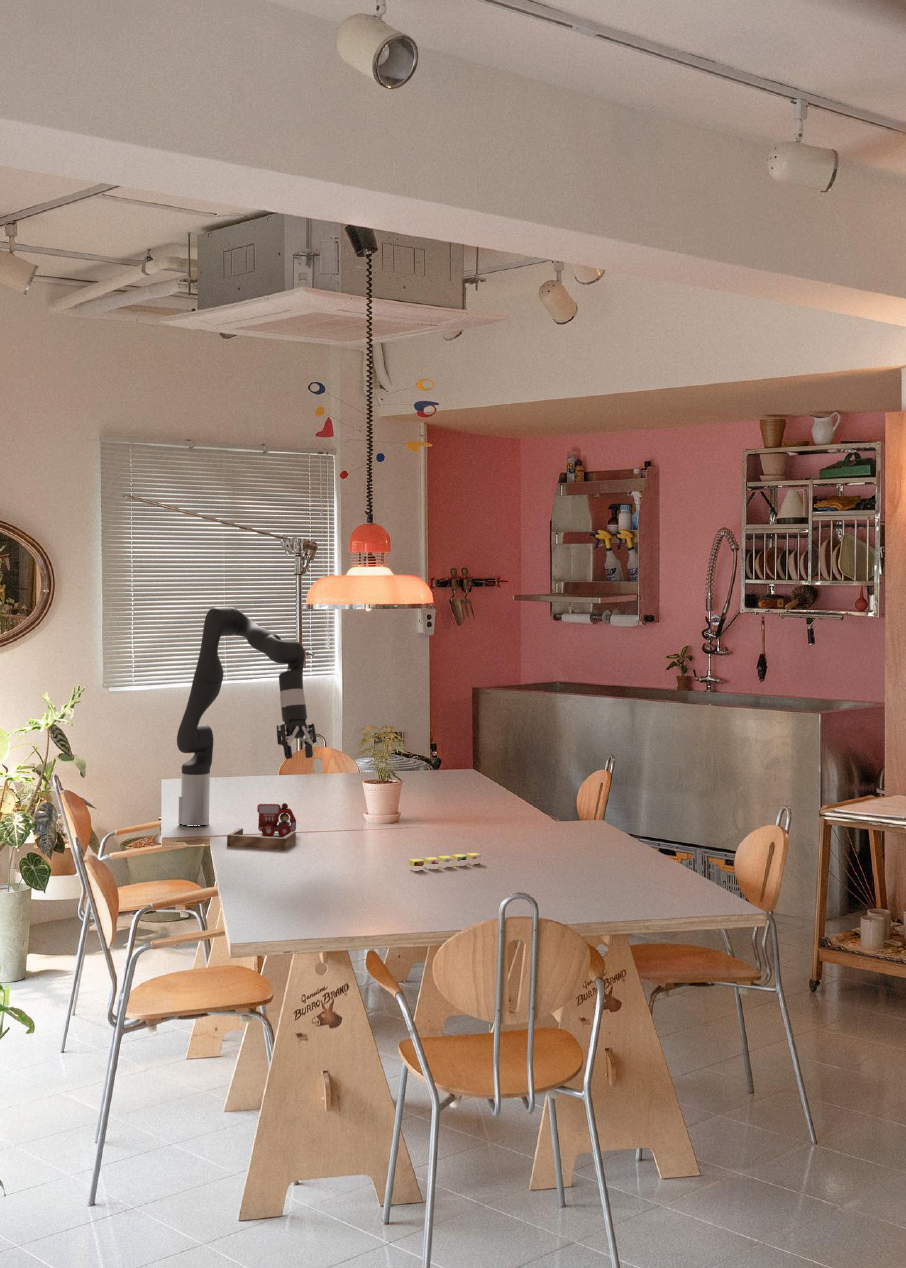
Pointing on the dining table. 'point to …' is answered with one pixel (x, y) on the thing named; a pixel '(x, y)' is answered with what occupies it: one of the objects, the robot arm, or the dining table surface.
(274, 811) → the toy fire truck
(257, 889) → the dining table surface
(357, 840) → the dining table surface
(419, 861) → the yellow cube chain
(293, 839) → the walnut cradle
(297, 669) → the robot arm
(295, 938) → the dining table surface
